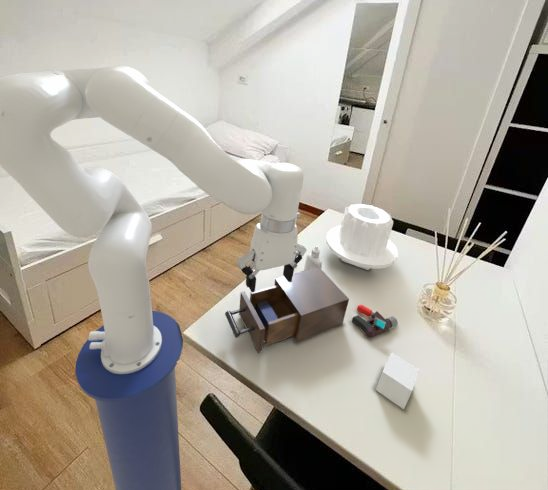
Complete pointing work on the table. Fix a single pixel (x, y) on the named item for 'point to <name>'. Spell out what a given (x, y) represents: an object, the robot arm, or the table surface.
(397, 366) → the white cube
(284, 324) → the drawer
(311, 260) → the eye dropper bottle
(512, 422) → the table surface
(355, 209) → the flanged gear
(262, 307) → the blue block
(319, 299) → the cabinet
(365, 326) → the toy gun
